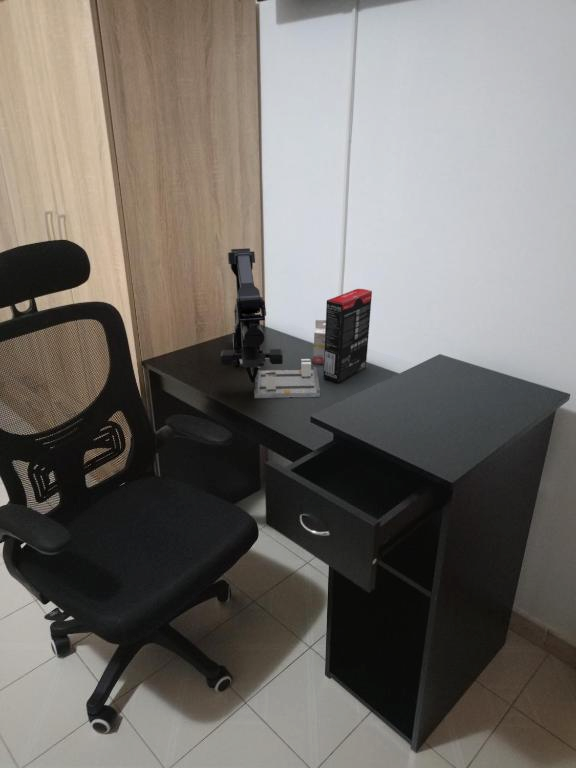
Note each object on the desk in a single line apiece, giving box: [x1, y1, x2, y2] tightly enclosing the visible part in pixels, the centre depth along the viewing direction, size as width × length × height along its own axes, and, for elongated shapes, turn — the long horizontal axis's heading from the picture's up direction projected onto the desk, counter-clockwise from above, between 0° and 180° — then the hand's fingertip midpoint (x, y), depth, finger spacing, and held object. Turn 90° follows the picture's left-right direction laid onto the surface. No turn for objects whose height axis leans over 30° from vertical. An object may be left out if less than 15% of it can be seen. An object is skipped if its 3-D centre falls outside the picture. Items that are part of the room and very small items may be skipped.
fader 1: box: [265, 370, 276, 390], centre depth 169 cm, size 3×4×5 cm
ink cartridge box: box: [313, 319, 326, 365], centre depth 189 cm, size 9×5×15 cm, turn 84°
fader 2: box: [300, 358, 312, 377], centre depth 177 cm, size 3×4×5 cm
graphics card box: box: [322, 288, 373, 384], centre depth 177 cm, size 17×7×27 cm, turn 141°
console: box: [253, 366, 321, 399], centre depth 175 cm, size 20×17×2 cm
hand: (252, 382), depth 169 cm, fingers closed
